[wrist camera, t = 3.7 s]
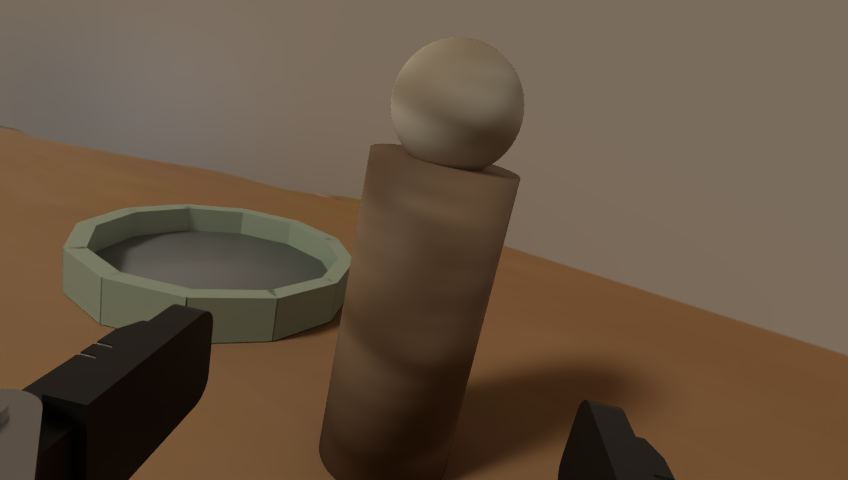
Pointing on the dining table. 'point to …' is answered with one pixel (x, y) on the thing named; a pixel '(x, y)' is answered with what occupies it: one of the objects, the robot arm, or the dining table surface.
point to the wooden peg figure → (423, 264)
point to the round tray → (206, 269)
